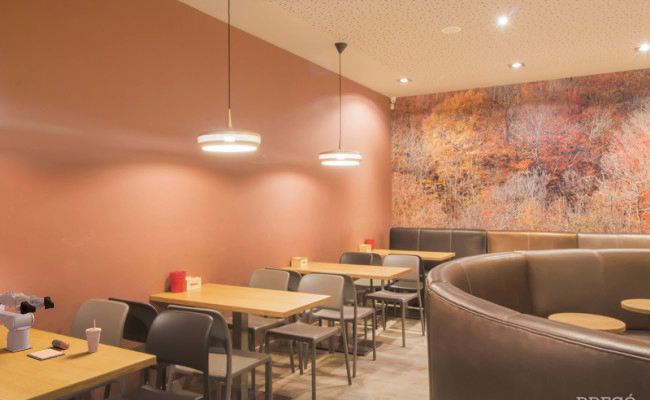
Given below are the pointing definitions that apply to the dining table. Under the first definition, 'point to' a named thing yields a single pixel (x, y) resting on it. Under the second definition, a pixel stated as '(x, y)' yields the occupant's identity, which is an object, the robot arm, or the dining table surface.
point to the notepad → (45, 354)
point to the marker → (60, 344)
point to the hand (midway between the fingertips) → (44, 307)
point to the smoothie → (93, 338)
